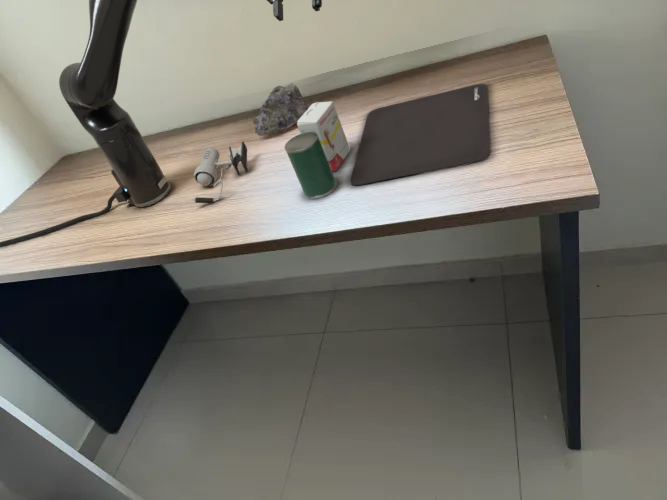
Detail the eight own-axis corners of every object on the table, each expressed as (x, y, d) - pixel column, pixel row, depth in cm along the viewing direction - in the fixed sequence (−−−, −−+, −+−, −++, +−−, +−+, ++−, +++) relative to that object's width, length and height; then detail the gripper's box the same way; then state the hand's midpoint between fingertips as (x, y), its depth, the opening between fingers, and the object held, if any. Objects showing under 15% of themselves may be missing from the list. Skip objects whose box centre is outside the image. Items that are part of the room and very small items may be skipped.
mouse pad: (490, 159, 114) (490, 158, 114) (348, 187, 123) (348, 186, 123) (487, 82, 138) (487, 81, 138) (368, 111, 147) (368, 110, 147)
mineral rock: (258, 142, 154) (241, 105, 149) (266, 122, 163) (250, 86, 157) (308, 129, 151) (292, 91, 145) (313, 108, 159) (299, 71, 153)
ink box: (336, 172, 130) (316, 121, 123) (315, 173, 132) (294, 123, 126) (351, 149, 135) (333, 99, 129) (331, 151, 138) (312, 102, 131)
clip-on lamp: (240, 209, 137) (254, 152, 148) (229, 189, 132) (244, 131, 144) (190, 216, 140) (207, 158, 151) (178, 196, 135) (196, 138, 147)
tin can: (300, 201, 126) (279, 153, 119) (310, 181, 130) (291, 135, 124) (331, 197, 123) (311, 148, 117) (340, 177, 128) (322, 129, 121)
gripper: (333, -60, 134) (336, 14, 132) (274, -42, 140) (276, 29, 138) (317, -80, 127) (320, -2, 126) (256, -60, 133) (258, 15, 132)
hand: (297, 14), depth 132 cm, fingers open, 8 cm apart
